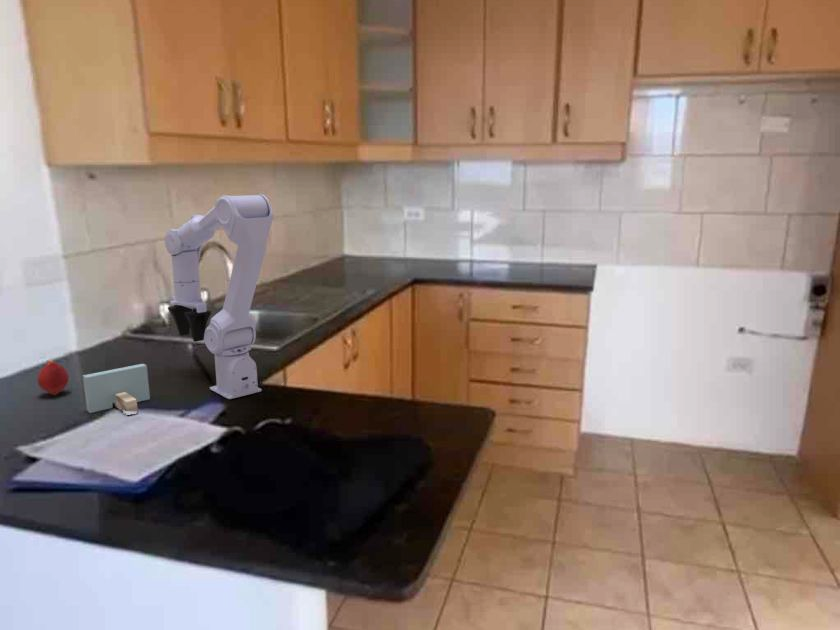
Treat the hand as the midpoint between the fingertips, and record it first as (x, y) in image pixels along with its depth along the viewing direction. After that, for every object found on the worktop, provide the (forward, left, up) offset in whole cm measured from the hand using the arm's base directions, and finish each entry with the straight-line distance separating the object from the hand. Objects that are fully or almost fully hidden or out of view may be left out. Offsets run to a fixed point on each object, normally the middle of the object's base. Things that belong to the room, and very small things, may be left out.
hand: (191, 337), depth 151 cm
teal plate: (-8, +20, -9) cm, 24 cm away
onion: (+8, +28, -10) cm, 31 cm away
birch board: (-8, +20, -9) cm, 24 cm away
